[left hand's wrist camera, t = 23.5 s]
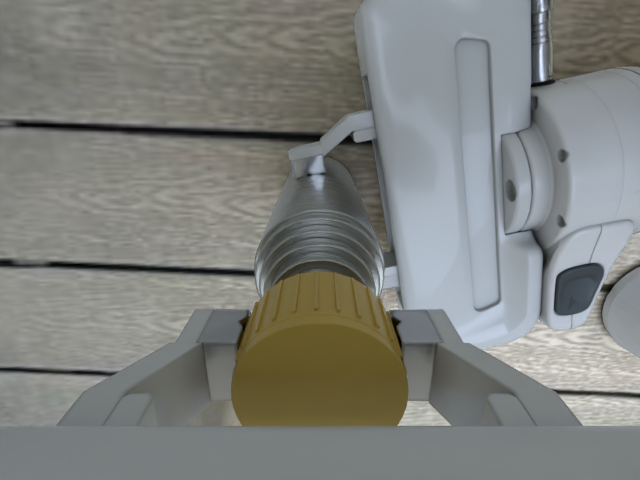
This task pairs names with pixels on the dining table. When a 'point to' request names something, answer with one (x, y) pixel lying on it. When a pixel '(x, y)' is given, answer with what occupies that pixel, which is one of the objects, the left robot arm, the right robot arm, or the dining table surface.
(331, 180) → the bottle
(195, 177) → the dining table surface
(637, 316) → the pendant light
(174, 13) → the dining table surface
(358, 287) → the cap
